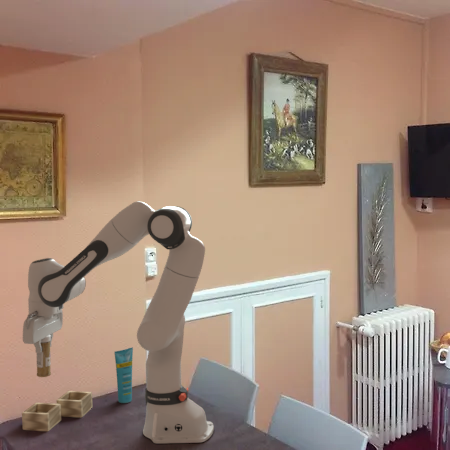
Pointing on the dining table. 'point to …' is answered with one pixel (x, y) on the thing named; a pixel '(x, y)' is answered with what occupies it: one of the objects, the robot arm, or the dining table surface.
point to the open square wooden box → (41, 416)
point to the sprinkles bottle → (44, 358)
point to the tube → (124, 374)
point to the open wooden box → (75, 403)
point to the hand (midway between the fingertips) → (43, 350)
